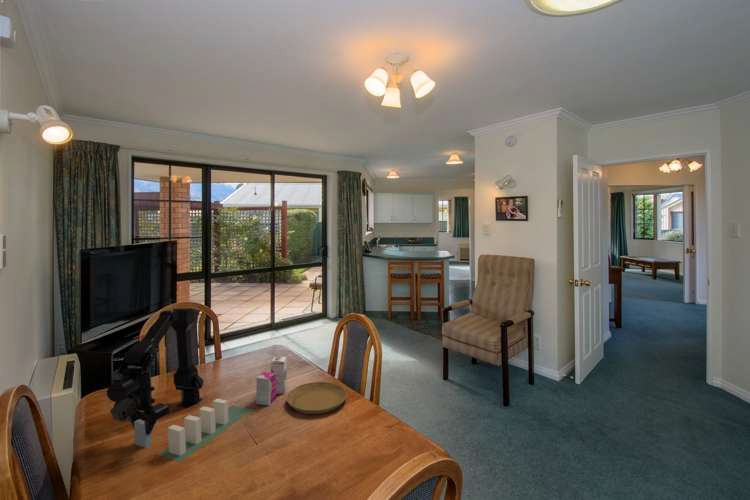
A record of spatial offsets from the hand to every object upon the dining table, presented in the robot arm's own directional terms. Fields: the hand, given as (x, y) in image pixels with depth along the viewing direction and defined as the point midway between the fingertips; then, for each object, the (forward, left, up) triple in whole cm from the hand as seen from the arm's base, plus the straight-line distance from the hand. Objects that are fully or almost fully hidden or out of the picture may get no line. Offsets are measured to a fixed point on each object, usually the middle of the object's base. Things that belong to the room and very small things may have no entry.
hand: (142, 432), depth 114 cm
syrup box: (+19, +47, -4) cm, 51 cm away
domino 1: (+14, +1, -4) cm, 15 cm away
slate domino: (0, 0, -4) cm, 4 cm away
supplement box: (+20, +37, -4) cm, 42 cm away
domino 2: (+14, +7, -4) cm, 16 cm away
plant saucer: (+39, +45, -5) cm, 60 cm away
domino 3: (+14, +13, -4) cm, 19 cm away
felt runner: (+14, +14, -4) cm, 20 cm away
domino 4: (+14, +19, -4) cm, 24 cm away
